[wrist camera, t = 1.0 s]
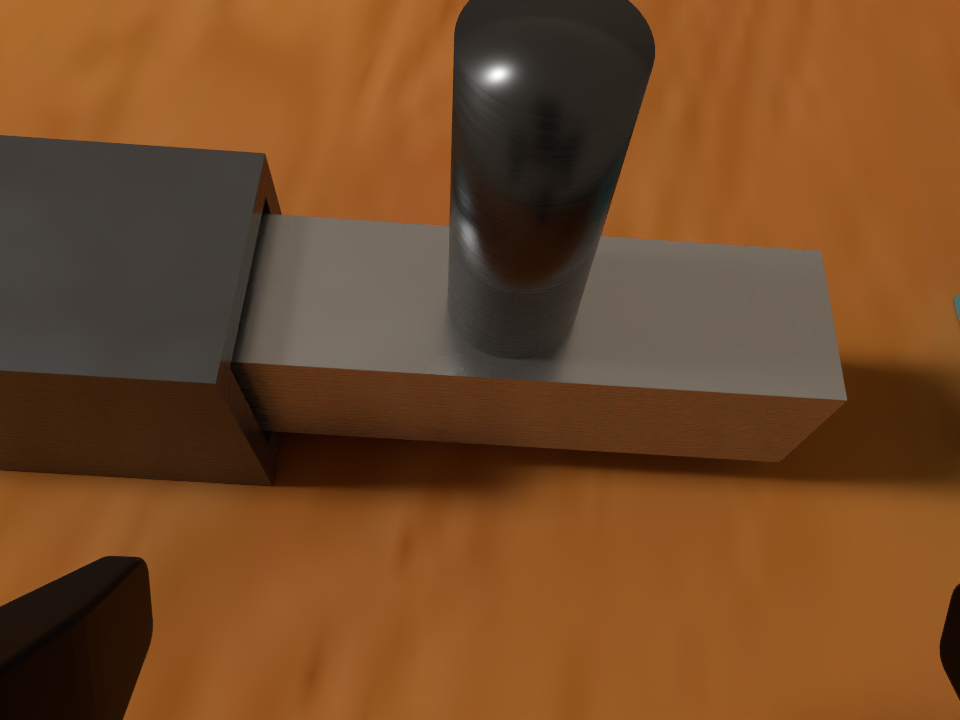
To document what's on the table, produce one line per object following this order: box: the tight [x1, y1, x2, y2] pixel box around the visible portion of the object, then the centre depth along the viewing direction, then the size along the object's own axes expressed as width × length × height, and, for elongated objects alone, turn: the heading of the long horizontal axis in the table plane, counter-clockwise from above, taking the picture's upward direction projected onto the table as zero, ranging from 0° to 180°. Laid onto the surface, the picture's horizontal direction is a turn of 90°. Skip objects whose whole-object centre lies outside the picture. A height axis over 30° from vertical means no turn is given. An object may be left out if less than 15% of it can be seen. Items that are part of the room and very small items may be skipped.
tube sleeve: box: [0, 135, 282, 486], centre depth 21 cm, size 13×6×6 cm, turn 87°
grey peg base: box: [230, 0, 847, 462], centre depth 17 cm, size 25×4×12 cm, turn 87°
